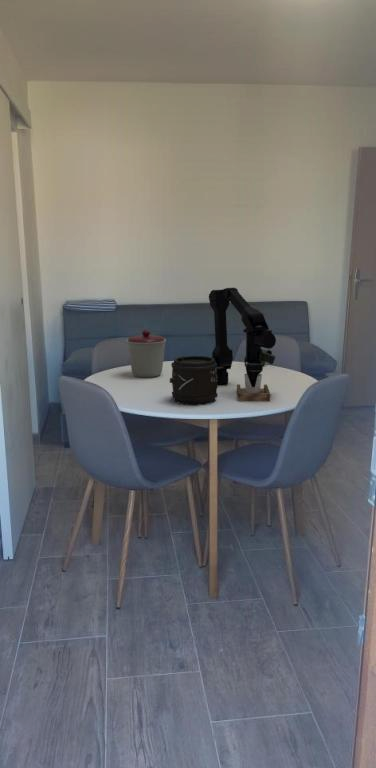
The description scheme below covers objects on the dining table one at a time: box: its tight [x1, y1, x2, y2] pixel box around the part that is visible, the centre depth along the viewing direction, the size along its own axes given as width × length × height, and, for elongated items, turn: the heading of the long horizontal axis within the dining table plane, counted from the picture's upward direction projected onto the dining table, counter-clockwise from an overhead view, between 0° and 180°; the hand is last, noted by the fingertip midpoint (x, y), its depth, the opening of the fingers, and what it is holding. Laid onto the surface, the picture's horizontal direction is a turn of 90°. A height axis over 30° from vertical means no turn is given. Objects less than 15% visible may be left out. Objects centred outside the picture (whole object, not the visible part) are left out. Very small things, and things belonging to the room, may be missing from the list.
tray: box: [236, 384, 271, 402], centre depth 230 cm, size 12×16×3 cm
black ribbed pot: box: [169, 355, 218, 406], centre depth 224 cm, size 18×18×16 cm
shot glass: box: [244, 373, 263, 393], centre depth 231 cm, size 7×7×7 cm
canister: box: [125, 329, 167, 378], centre depth 267 cm, size 18×18×21 cm
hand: (252, 384), depth 231 cm, fingers open, 9 cm apart
